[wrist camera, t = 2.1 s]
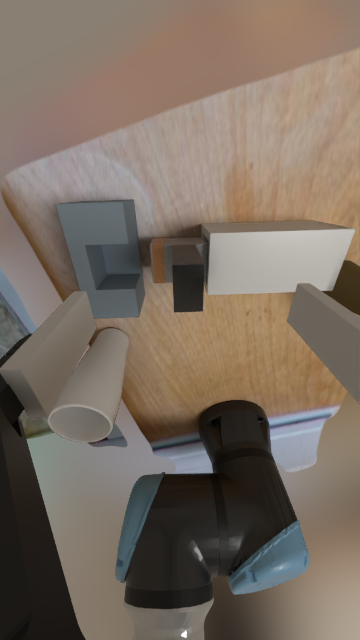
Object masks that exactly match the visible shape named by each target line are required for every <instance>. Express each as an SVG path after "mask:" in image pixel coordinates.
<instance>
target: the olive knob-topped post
mask: <svg viewBox="0 0 360 640" xmlns="http://www.w3.org/2000/svg"><path fill="white" fill-rule="evenodd" d="M322 292H323V293H325V294H326V295H328V296H329V297H331V298H332V299H334V300H335V301H337V302H338V303H339V304H341V305H342V306H344V307H345V308H347V309H348V310H350V311H351V312H353V313H356V314H358V315H360V266H358V265H356V264H355V263H353V262H351V261H346V260H344V261H343V264H342V267H341V269H340V272H339V275H338V277H337V280H336V282H335V285H334V288H333V290H332V291H322Z"/></svg>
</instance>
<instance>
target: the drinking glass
mask: <svg viewBox="0 0 360 640" xmlns="http://www.w3.org/2000/svg"><path fill="white" fill-rule="evenodd" d="M129 345H130V342H129V338H128V336H127V335H126V334H125V333H124V332H123V331H121V330H119V329H115V328H108V329H104V330H102V331H101V332H100V333H99V334H98V335H97V337H96V339H95V341H94V342H93V344H92V345H91V347H90V348H89V350H88V351H87V353H86V354H85V355H84V357H83V358H82V360H81V361H80V363H79V364H78V366H77V367H76V368H75V370H74V371H73V373H72V374H71V376H70V378H69V380H68V382H67V384H66V386H65V387H64V389H63V391H62V393H61V395H60V397H59V398H58V400H57V402H56V404H55V406H54V408H53V410H52V411H51V413H50V415H49V417H48V425H49V427H50V428H51V429H52V430H53V431H54V432H55V433H56V434H57V435H59V436H61V437H63V438H65V439H68V440H71V441H76V442H95V441H99V440H102V439H104V438H106V437H107V436H108V435H109V434H110V433H111V432H112V429H113V426H114V423H115V419H116V416H117V412H118V409H119V404H120V400H121V395H122V388H123V381H124V374H125V367H126V360H127V354H128V349H129Z"/></svg>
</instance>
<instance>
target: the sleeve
mask: <svg viewBox="0 0 360 640" xmlns="http://www.w3.org/2000/svg"><path fill="white" fill-rule="evenodd" d="M354 232H355V229H354V228H349V227H344V226H338V225H333V224H328V223H323V222H318V221H313V220H311V221H279V222H247V223H214V224H201V237H206V238H207V239H208V240H209V248H208V270H207V281H204V286H205V289H206V292H207V295H226V294H254V293H281V292H295V291H296V287H297V284H299V283H310V284H312V285H313V286H315V287H316V288H318V289H319V290H320V291H332V290H333V288H334V285H335V282H336V280H337V277H338V275H339V272H340V269H341V267H342V264H343V261H344V259H345V256H346V253H347V251H348V248H349V245H350V243H351V240H352V237H353V235H354Z"/></svg>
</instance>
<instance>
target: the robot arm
mask: <svg viewBox="0 0 360 640" xmlns="http://www.w3.org/2000/svg"><path fill="white" fill-rule="evenodd" d="M287 322H288V323H289V324H290V325H291V326H292V327H293V329H294V330H295V331H296V332H297V333H298V334H299V336H300V337H301V338H302V339H303V340H304V341H305V342H306V344H307V345H308V346H309V347H310V348H311V349H312V350H313V352H314V353H315V354H316V355H317V356H318V357H319V359H320V360H321V361H322V362H323V363H324V364H325V365H326V367H327V368H328V369H329V370H330V371H331V372H332V373H333V375H334V376H335V377H336V378H337V379H338V380H339V382H340V383H341V384H342V385H343V386H344V387H345V388H346V390H347V391H348V392H349V393H350V394H351V395H352V396H353V398H354V399H355V400H356V401H357V402H358V403H360V317H358V316H357V315H356V314H354V313H353V312H351V311H350V310H348V309H347V308H345V307H344V306H342V305H341V304H339V303H338V302H337V301H335V300H334V299H332V298H331V297H329V296H328V295H326V294H325V293H323V292H322V291H320V290H319V289H318V288H316V287H315V286H313V285H312V284H310V283H299V284H297V287H296V291H295V294H294V298H293V301H292V305H291V308H290V312H289V315H288V319H287ZM95 330H96V324H95V321H94V317H93V314H92V310H91V306H90V303H89V299H88V296H87V292H86V291H74V292H73V293H72V294H71V295H70V296H69V297H68V298H67V299H66V300H65V301H64V302H63V303H62V304H61V305H60V306H59V307H58V308H57V309H56V310H55V311H54V312H53V313H52V315H51V316H50V317H49V318H48V319H47V320H46V321H45V322H44V323H43V324H42V325H41V326H40V327H39V328H38V329H37V330H36V331H35V332H34V333H33V334H29V335H27V336H26V337H24V338H22V339H21V340H19V341H18V342H17V343H16V344H15V345H14V346H13V347H12V349H10V350H9V351H8V352H7V353H6V355H4V356H3V357H2V358H1V359H0V640H86V639H85V638H84V636H83V634H82V632H81V630H80V628H79V625H78V623H77V619H76V616H75V612H74V609H73V605H72V602H71V598H70V594H69V591H68V587H67V584H66V580H65V576H64V573H63V570H62V566H61V562H60V558H59V555H58V551H57V548H56V544H55V540H54V537H53V533H52V530H51V526H50V523H49V519H48V515H47V512H46V508H45V505H44V501H43V498H42V494H41V490H40V487H39V483H38V479H37V476H36V472H35V469H34V465H33V462H32V458H31V454H30V451H29V447H28V444H27V440H26V436H25V433H24V429H23V426H22V422H21V421H20V420H19V418H18V417H19V416H20V414H21V413H22V411H23V410H25V411H26V413H27V414H28V416H29V417H30V418H41V417H49V415H50V413H51V411H52V410H53V408H54V406H55V404H56V402H57V400H58V398H59V397H60V395H61V393H62V391H63V389H64V387H65V386H66V384H67V382H68V380H69V378H70V376H71V374H72V373H73V371H74V369H75V367H76V365H77V363H78V361H79V360H80V358H81V356H82V354H83V352H84V350H85V348H86V347H87V345H88V343H89V341H90V339H91V338H92V336H93V334H94V332H95ZM198 427H199V435H200V438H201V441H202V443H203V445H204V447H205V449H206V452H207V454H208V456H209V458H210V460H211V463H212V468H213V473H194V474H165V472H163V473H161V474H152V475H144V476H142V477H140V478H139V479H138V480H137V481H136V483H135V485H134V487H133V489H132V492H131V495H130V498H129V502H128V505H127V509H126V513H125V517H124V521H123V526H122V531H121V536H120V541H119V546H118V554H117V563H116V568H115V576H116V579H117V580H119V581H120V582H121V583H124V582H125V581H126V589H125V599H124V606H125V608H126V610H127V612H128V613H129V615H130V617H131V619H132V621H133V625H134V635H133V640H204V629H203V628H204V627H203V624H204V620H205V617H206V615H207V613H208V611H209V609H210V607H211V606H212V604H213V601H214V599H213V585H212V578H213V577H218V576H227V577H228V585H229V586H230V589H231V591H232V593H234V594H237V595H239V594H243V593H245V594H246V593H251V592H256V591H260V590H263V589H267V588H270V587H273V586H276V585H279V584H282V583H284V582H287V581H289V580H292V579H294V578H296V577H298V576H300V575H301V574H303V573H304V572H305V571H306V570H307V568H308V566H309V553H308V549H307V546H306V543H305V540H304V537H303V534H302V531H301V528H300V522H299V521H298V520H297V517H296V515H295V512H294V510H293V507H292V505H291V502H290V499H289V497H288V495H287V492H286V489H285V487H284V484H283V481H282V479H281V477H280V474H279V471H278V469H277V466H276V464H275V461H274V458H273V456H272V453H271V441H270V428H269V422H268V419H267V417H266V414H265V412H264V410H263V409H262V408H261V407H260V406H258V405H256V404H254V403H251V402H247V401H228V402H224V403H220V404H217V405H215V406H213V407H211V408H210V409H208V410H207V411H206V412H204V413H203V415H202V416H201V417H200V419H199V423H198Z"/></svg>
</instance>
